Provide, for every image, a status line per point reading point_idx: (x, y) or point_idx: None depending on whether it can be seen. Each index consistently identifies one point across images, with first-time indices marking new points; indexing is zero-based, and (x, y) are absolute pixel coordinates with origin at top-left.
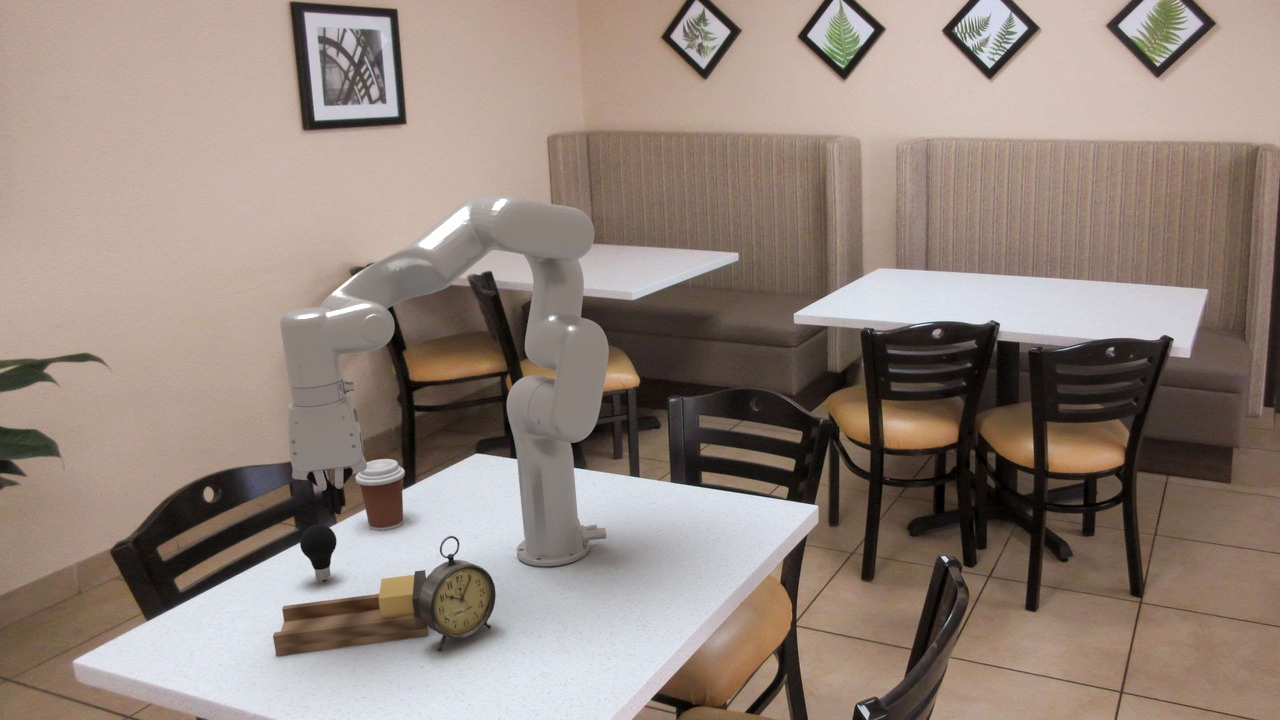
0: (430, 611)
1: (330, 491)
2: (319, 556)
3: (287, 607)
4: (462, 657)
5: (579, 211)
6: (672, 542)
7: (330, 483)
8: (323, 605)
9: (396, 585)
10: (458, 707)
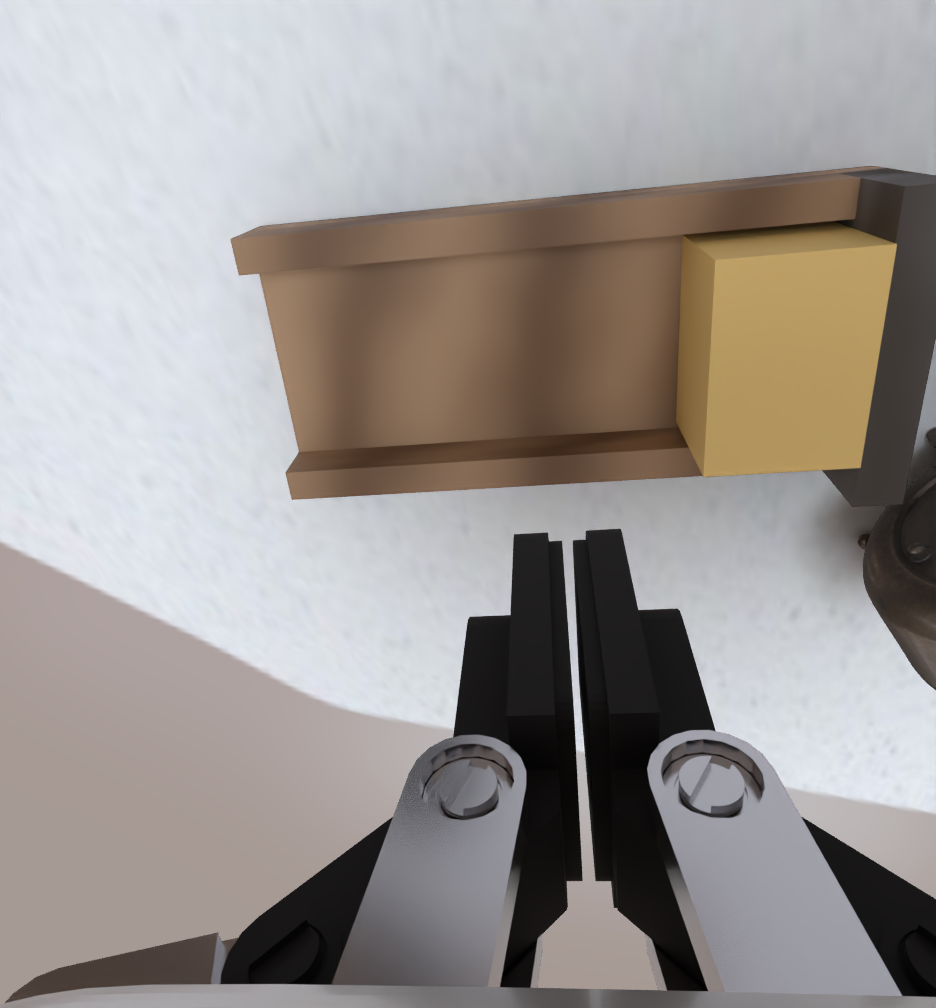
0: (918, 673)
1: (576, 876)
2: None
3: (255, 259)
4: None
5: None
6: None
7: (559, 799)
8: (414, 257)
9: (790, 360)
10: (868, 795)
